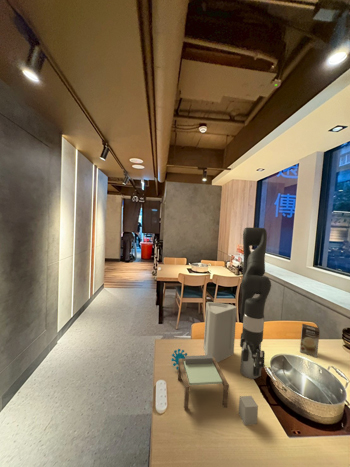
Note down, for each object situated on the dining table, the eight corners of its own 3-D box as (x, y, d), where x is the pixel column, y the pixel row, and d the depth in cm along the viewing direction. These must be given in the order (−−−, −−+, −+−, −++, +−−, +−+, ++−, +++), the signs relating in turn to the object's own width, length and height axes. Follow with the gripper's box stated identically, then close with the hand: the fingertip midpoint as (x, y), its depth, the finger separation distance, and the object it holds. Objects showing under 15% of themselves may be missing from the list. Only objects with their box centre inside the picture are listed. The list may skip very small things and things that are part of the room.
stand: (177, 377, 102) (178, 358, 101) (213, 376, 104) (214, 357, 104) (184, 410, 84) (185, 387, 83) (227, 407, 86) (228, 384, 86)
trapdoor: (183, 363, 100) (183, 355, 100) (211, 362, 102) (212, 355, 102) (189, 385, 86) (190, 376, 86) (222, 383, 88) (222, 375, 88)
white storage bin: (215, 342, 136) (217, 299, 135) (234, 353, 125) (237, 307, 124) (193, 351, 124) (196, 305, 123) (213, 365, 113) (216, 314, 112)
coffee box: (299, 352, 130) (301, 326, 129) (299, 347, 135) (301, 323, 135) (317, 358, 125) (319, 331, 124) (317, 352, 130) (319, 327, 130)
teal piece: (173, 370, 104) (171, 348, 111) (169, 373, 108) (167, 351, 115) (193, 369, 108) (189, 348, 115) (188, 371, 112) (185, 351, 119)
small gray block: (250, 412, 84) (251, 395, 84) (256, 424, 79) (257, 406, 79) (238, 413, 84) (239, 396, 84) (244, 425, 79) (245, 407, 79)
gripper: (272, 336, 74) (269, 380, 75) (252, 318, 88) (250, 356, 89) (253, 336, 73) (250, 381, 74) (236, 318, 87) (233, 356, 88)
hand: (250, 367), depth 81 cm, fingers open, 8 cm apart
